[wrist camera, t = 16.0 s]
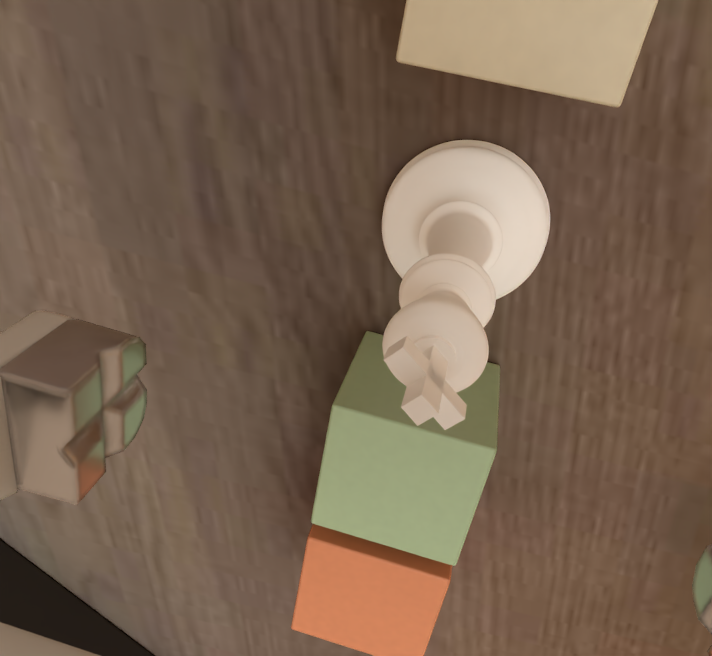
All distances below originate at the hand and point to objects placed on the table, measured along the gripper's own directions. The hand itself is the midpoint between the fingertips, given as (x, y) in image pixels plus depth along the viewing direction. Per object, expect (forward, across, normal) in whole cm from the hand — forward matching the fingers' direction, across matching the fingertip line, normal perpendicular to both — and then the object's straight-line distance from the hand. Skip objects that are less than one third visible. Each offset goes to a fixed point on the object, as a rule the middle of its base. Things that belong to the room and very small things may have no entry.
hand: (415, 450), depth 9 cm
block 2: (+11, 0, +12) cm, 17 cm away
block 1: (+11, 0, +7) cm, 13 cm away
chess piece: (+12, 0, 0) cm, 12 cm away
